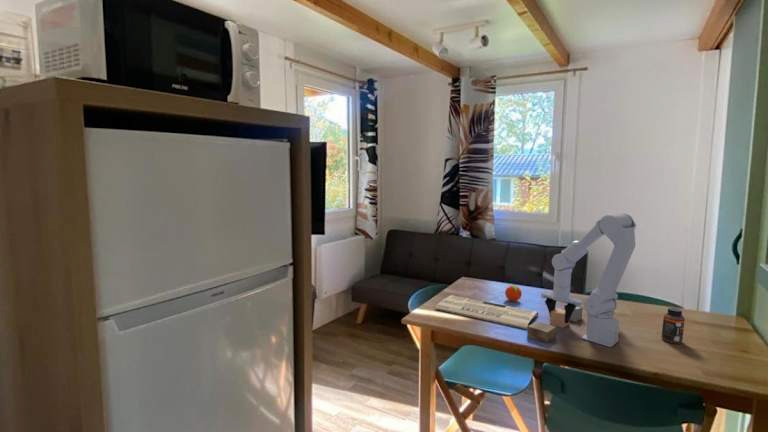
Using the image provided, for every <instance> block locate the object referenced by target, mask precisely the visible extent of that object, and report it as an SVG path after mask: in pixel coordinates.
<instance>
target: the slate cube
mask: <svg viewBox="0 0 768 432" xmlns="http://www.w3.org/2000/svg"><path fill="white" fill-rule="evenodd" d="M566 305H568V304H567V303H566ZM563 307H564V309H563V310H565V305H564V306H563ZM583 307H584V305H582V306H581V307H577V306H576V308H575V309H574V311H573V313H572V315H571V317H570V320H569V321H573V322H579V321H580V320H582V318H583Z"/></svg>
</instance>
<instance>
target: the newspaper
mask: <svg viewBox="0 0 768 432" xmlns="http://www.w3.org/2000/svg"><path fill="white" fill-rule="evenodd" d="M435 310H439V311H442V312H446V313H451V314H457V315H462V316H466V317H468V318H474V319H480V320H484V321H487V322H493V323H497V324H501V325H507V326H511V327H516V328H520V329H525V330H528V326H529V323H530V322H531V321H532V319H535V318H536V317H538V316H539V312H538V311H534V310H529V309H524V308H520V307H514V306H509V305H504V304H497V303H493V302H489V301H484V300H478V299H474V298H468V297H462V296H458V295H454V294H453V295H452V294H450V295H449V296H447V297H445V298H444V299H442V300H441V301H439V302H438V303H437V304H436V305H435Z"/></svg>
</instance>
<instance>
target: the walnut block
mask: <svg viewBox="0 0 768 432" xmlns="http://www.w3.org/2000/svg"><path fill="white" fill-rule="evenodd" d="M526 331H527V332H526V333H527V335H526V338H527V339H531V340H534V341H537V342H541V343H544V344H549V343H550V342H551V341H553V340H555V339H556V338H557V337H556V336H557V326H555V325H552V324H550V323H546V322H545V323H544V322H542V321H538V320H537V321H534V322H533V323H531V324H528V326H527V330H526Z"/></svg>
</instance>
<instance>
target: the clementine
mask: <svg viewBox="0 0 768 432" xmlns="http://www.w3.org/2000/svg"><path fill="white" fill-rule="evenodd" d="M504 293H505V297H506V299H507V300H509V301H510V302H518V301H519V300H520V299H521V298H522V294H523V293H522V290H521V289H520V287H519V286H517V285H510V286H509V285H508V287H507V288H506V289H505V291H504Z"/></svg>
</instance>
